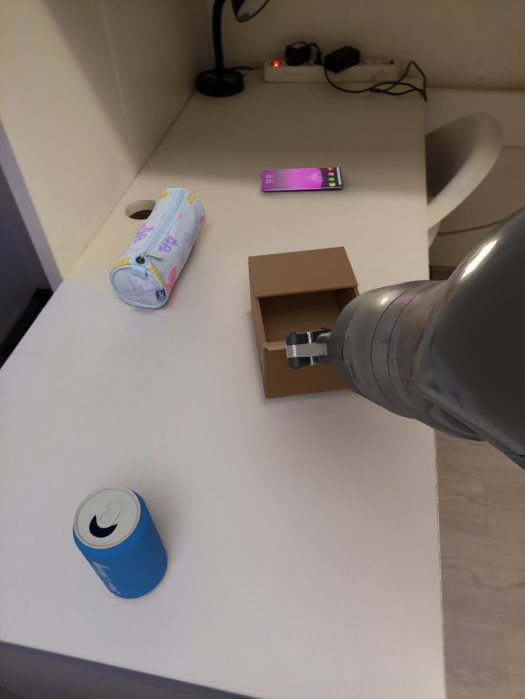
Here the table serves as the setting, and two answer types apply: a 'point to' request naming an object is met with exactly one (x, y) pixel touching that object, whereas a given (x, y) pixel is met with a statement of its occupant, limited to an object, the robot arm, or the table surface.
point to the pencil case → (159, 250)
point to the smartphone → (302, 179)
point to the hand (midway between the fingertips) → (343, 338)
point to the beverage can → (120, 541)
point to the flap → (275, 345)
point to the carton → (298, 312)
